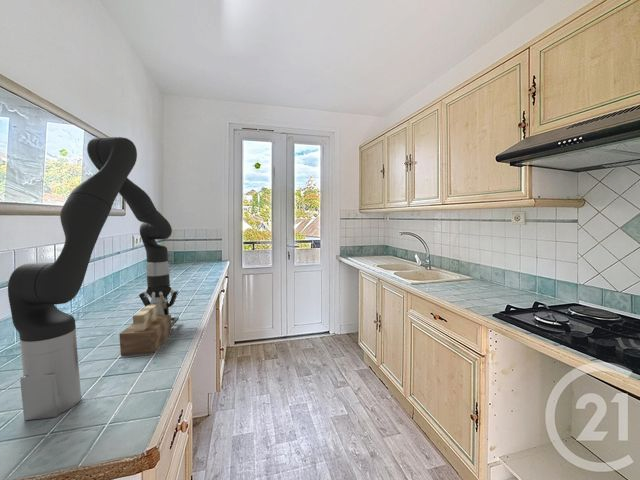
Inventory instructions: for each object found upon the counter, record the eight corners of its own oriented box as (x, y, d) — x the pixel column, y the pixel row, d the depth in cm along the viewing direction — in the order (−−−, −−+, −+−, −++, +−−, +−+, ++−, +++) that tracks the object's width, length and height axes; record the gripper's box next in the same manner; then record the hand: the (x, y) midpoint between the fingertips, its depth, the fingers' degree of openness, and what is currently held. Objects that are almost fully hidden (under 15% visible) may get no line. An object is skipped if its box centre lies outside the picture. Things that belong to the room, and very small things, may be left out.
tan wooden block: (154, 346, 93) (153, 316, 92) (120, 349, 91) (118, 318, 91) (178, 319, 118) (177, 295, 117) (152, 321, 116) (150, 296, 115)
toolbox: (155, 352, 93) (154, 334, 93) (120, 355, 92) (119, 336, 91) (170, 334, 108) (169, 318, 107) (141, 336, 106) (140, 320, 106)
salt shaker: (161, 332, 109) (160, 298, 108) (148, 331, 110) (146, 297, 109) (172, 327, 114) (171, 294, 113) (160, 326, 116) (158, 293, 115)
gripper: (133, 276, 106) (136, 322, 107) (174, 274, 108) (176, 319, 109) (142, 272, 113) (144, 315, 114) (180, 270, 115) (182, 313, 117)
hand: (160, 317), depth 112 cm, fingers closed on salt shaker, 3 cm apart
